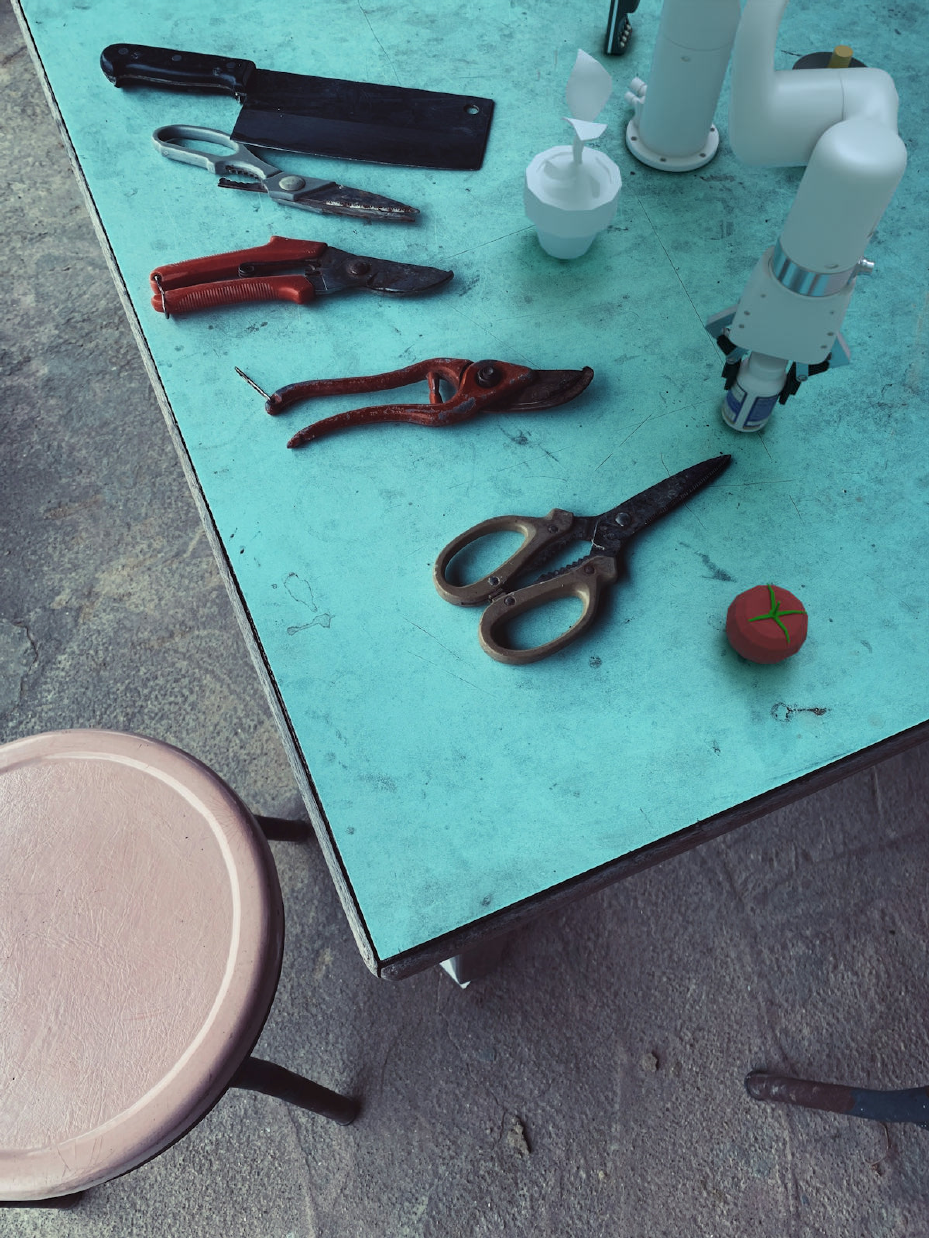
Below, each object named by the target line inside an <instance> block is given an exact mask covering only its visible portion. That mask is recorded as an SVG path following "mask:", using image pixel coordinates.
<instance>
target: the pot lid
mask: <svg viewBox="0 0 929 1238" xmlns="http://www.w3.org/2000/svg"><path fill="white" fill-rule="evenodd" d="M853 55H854V50H853V49H852V47H851V46H849V45H844V44H840V45H836V46H835V47H834V49H833V51H817V52H816V51H815V52H811V53H808V54H805V55H803V56H801V57H800V58H798V59H797V60H796V61H795V63H794V64H793V65H792V68H791V70H798V69H826V68H831V69H836V68H864V67H866V68H869V67H868V66H867V65H866V64H865V63H863V61H861V60H859V59H857V58H855V57H853Z"/></svg>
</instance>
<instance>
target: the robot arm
mask: <svg viewBox="0 0 929 1238" xmlns="http://www.w3.org/2000/svg"><path fill="white" fill-rule="evenodd" d="M662 2H663V3H662V7H661V12H660V19H659V23H658V28H657V34H656V39H655V44H654V48H653V55H652V58H651V63H650V69H649V73H648V78H647V83H646V82H645V81H643V80H642V79H640V78H639V77H637V76H636V77H634V78H633V79H632V80H631V81H630V83H629V86H628V91H627V92H626V93H625V94H624V95H623V102H624V103H626V104H627V105H628V106H630V107H631V108H632V107H633V109H634V115H633V116H632V117H631V119H629V122H628V123H627V126H626V133H625V142H626V146H627V148H628V149H629V151H630V152H631V154H632V155H633V156H634V157H635V158H636V159H637V160H639V161H640V162H641V163H643V164H645V165H647V166H649V167H652V168H654V169H657V170H661V171H664V172H673V173H675V172H676V173H678V172H687V171H693V170H695V169H698V168H701V167H703V166H705V165H707V164H708V163H709V162H710V161H711V160H713V158H714V156H715V155H716V153H717V150H718V147H719V143H720V133H719V131H718V129H717V127H716V125H715V123H714V118H715V115H716V111H717V107H718V104H719V101H720V96H721V93H722V89H723V86H724V82H725V79H726V74H727V71H728V68H729V64H731V65H730V77H729V78H730V79H729V93H728V94H729V95H728V109H727V135H728V142H729V146H730V149H731V152H732V153H733V154H732V155H734V157H735V158H736V160H738V161H739V163H741V164H743V165H745V166H748V167H752V168H762V169H763V168H785V167H786V168H787V167H789V168H791V167H806V168H805V170H804V173H803V175H802V178H801V180H800V184H799V185H798V188H797V191H796V194H795V196H794V198H793V201H792V203H791V206H790V209H789V211H788V213H787V216H786V219H785V221H784V223H783V226H782V228H781V231H780V233H779V235H778V238H777V241H776V243H775V245H771V246H769V247H767V248H766V249H765V251H764V252H763V253H762V254H761V256H760V257H759V259H758V260H757V262H756V264H755V265H754V267H753V269H752V270H751V272H750V274H749V276H748V277H747V280H746V282H745V284H744V287H743V289H742V291H741V293H740V296H739V298H738V300H737V303H735V304H733V305H731V306H729V307H727V308H725V309H722V310H720V311H718V312H716V313H714V314H712V315H709V316H708V317H707V318H706V320H705V321H706V322H705V326H704V330H706V332H707V333H708V334H709V335H710V336H711V337H712V339H714V340H715V341H716V345H717V347H719V349H720V351H721V352H722V353H723V354H724V355H725V362H724V365H723V368H722V371H721V375H720V378H724V379H725V382H724V386H723V390H724V391H726V392H728V390H731V387H732V385H733V382H734V380H735V378H736V375H737V373H738V370H739V368H740V364H741V362H742V361H743V357H744V356H745V355H746V354H747V353H748V352H749V351H751V352H752V351H755V352H759V353H762V354H766V355H770V356H774V357H778V358H782V359H786V360H789V361H790V362H792V363H791V365H790V367H789V369H788V371H787V372H786V373H787V380H786V384H785V386H784V388H783V390H782V392H781V394H780V396H779V398H778V400H777V403H779V405H781V406H785V405H786V403H787V402H788V400H789V398H790V396H793V397H795V396H796V395H797V393H798V391H799V389H800V387H801V385H802V383H804V382H808V380H809V377H812V376H816V375H819V374H823V373H825V372H827V371H828V370H829V369H835V368H840V367H844V366H848V365H849V364H850V362H851V356H852V351H851V350H850V348H849V347H850V346H848V343H847V342H846V340H845V338H844V336H843V334H842V332H841V327H842V325H843V322H844V320H845V318H846V315H847V311H848V309H849V306H850V303H851V301H852V297H853V294H854V291H855V288H856V284H857V279H858V276H859V277H861V276H866V277H870V276H871V274H872V273H873V271H874V268H875V264H876V261H875V260H870V259H868V257H865V253H864V252H865V251H866V249H867V246H869V245H868V244H869V243H870V241H871V239H872V237H873V236H874V233H875V231H876V230H877V227H878V226H879V223H880V221H881V220H882V217H883V215H884V214H885V212H886V211H887V209H888V206H889V204H890V202H891V201H892V198H893V197H894V194H895V192H896V190H897V189H898V186H899V184H900V182H901V181H902V179H903V176H904V174H905V172H906V168H907V164H908V152H907V148H906V145H905V143H904V140H903V139H902V138H901V137H900V135H899V129H898V113H899V106H900V98H899V94H898V91H897V89H896V85H895V81H894V79H893V77H892V76H891V75H890V74H889V72H887V71H885V70H883V69H881V68H877V67H868V68H866V67H864V68H836V69H831V68H826V69H798V70H792V69H776V70H775V57H776V56H775V54H776V46H777V40H778V34H779V30H780V26H781V23H782V20H783V17H784V14H785V12H786V10H787V7H788V6H789V3H790V2H791V0H746V3H745V5H744V8H743V11H742V6H741V5H742V4H741V0H663V1H662ZM730 60H731V63H730ZM729 326H730V328H728V327H729Z"/></svg>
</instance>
